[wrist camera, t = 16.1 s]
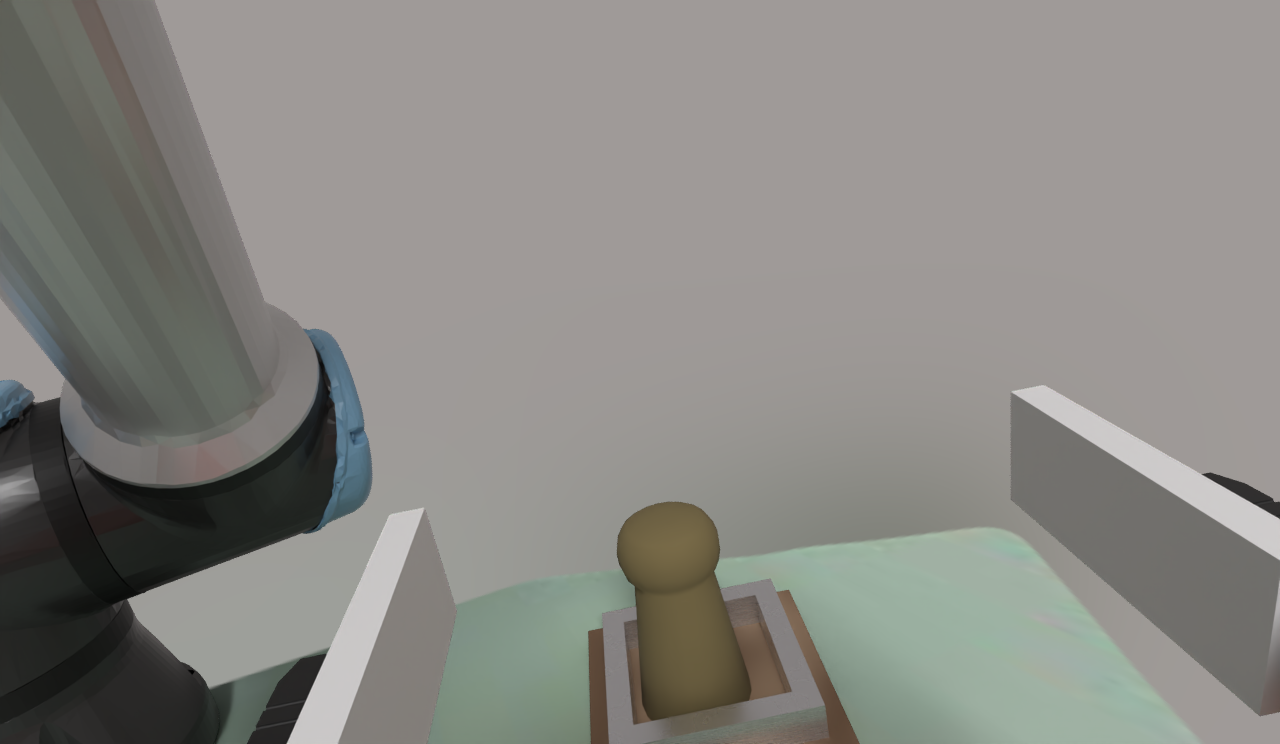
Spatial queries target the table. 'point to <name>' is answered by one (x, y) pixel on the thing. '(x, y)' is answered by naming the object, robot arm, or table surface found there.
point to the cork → (680, 612)
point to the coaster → (733, 734)
